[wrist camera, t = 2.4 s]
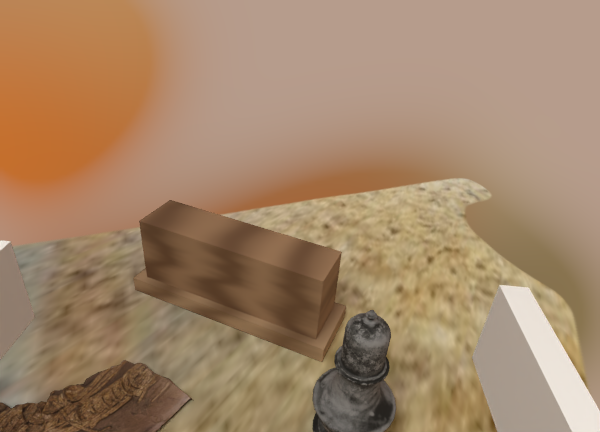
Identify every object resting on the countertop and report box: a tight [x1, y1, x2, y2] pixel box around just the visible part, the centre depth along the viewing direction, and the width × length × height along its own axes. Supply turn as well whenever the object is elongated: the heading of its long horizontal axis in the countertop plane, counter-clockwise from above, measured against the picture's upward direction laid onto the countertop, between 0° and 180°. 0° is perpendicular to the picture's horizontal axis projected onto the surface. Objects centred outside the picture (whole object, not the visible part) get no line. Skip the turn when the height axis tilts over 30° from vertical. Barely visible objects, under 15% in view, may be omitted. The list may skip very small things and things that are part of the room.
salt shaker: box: [313, 310, 396, 432], centre depth 30 cm, size 6×6×12 cm
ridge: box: [134, 200, 346, 362], centre depth 42 cm, size 20×6×8 cm, turn 67°
